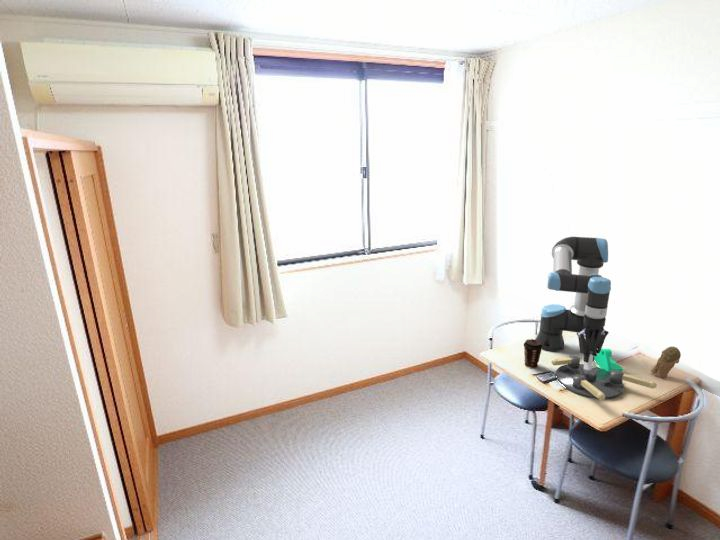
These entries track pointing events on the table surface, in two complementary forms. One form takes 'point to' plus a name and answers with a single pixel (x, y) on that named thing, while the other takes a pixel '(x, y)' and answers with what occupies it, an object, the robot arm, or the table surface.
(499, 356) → the table surface
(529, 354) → the coffee cup
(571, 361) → the maraca
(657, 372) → the figurine
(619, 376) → the knob
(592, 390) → the knob
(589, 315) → the robot arm
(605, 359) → the camera mount
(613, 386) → the level base
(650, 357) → the table surface
